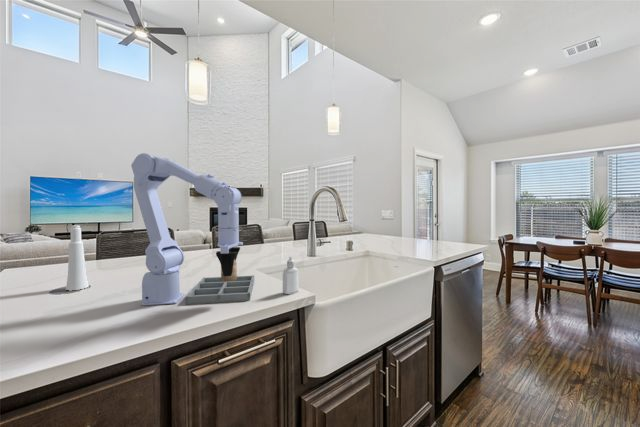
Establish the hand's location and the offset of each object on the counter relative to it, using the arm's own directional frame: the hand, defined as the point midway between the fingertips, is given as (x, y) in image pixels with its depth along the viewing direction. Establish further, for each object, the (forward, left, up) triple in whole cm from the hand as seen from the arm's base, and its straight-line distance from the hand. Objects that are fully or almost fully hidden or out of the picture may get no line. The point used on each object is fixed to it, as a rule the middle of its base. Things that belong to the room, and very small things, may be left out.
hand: (228, 273), depth 80 cm
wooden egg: (0, 0, -2) cm, 2 cm away
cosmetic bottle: (-54, +24, -9) cm, 60 cm away
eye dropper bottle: (+19, +7, -9) cm, 22 cm away
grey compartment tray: (-3, +12, -9) cm, 15 cm away
